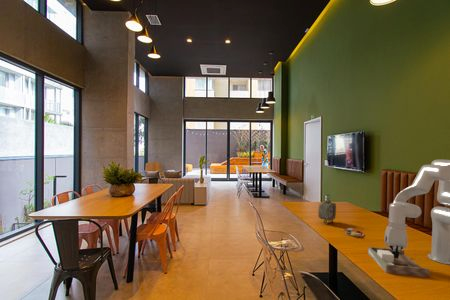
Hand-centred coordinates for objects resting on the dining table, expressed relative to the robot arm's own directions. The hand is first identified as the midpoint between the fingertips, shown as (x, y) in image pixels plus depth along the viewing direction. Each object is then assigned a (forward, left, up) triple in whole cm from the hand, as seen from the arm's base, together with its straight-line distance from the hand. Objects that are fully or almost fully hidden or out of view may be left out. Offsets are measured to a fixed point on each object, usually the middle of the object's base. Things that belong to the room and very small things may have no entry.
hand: (395, 257), depth 139 cm
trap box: (0, 0, -4) cm, 4 cm away
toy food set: (+7, -46, -4) cm, 47 cm away
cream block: (+5, 0, -2) cm, 5 cm away
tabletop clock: (+21, -70, -4) cm, 74 cm away
